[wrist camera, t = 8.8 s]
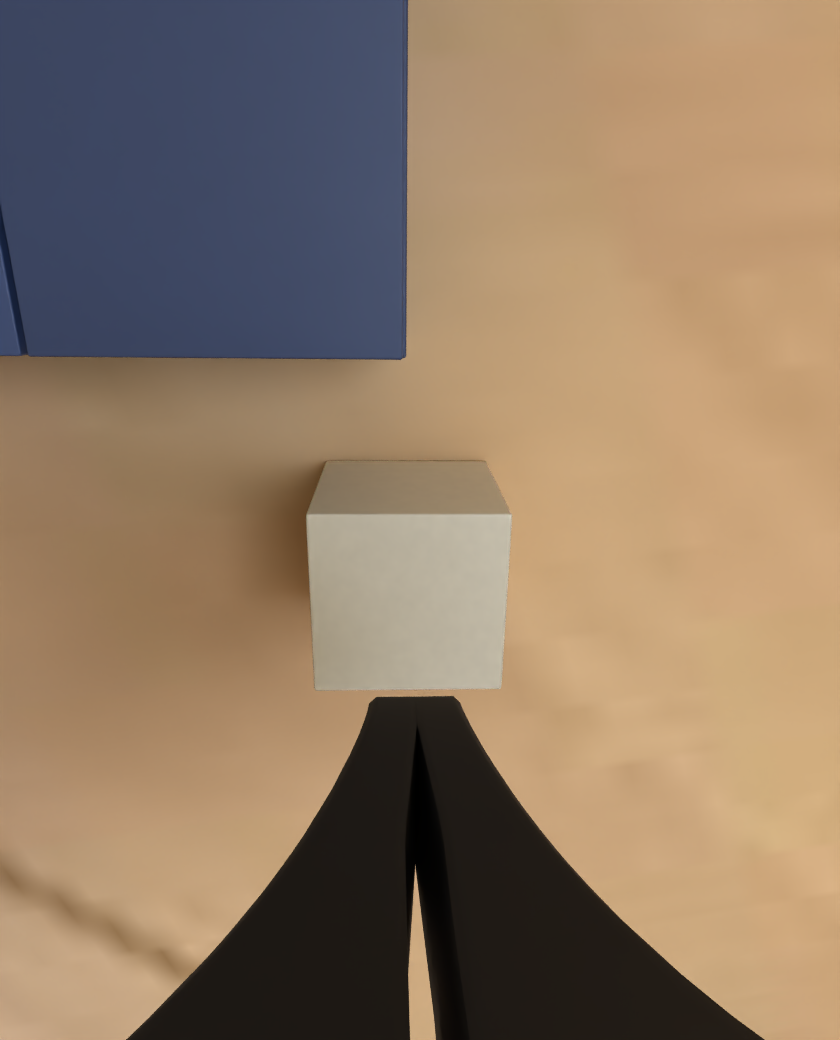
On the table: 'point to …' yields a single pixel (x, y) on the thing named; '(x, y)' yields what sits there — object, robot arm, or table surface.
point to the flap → (9, 304)
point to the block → (408, 575)
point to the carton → (206, 176)
